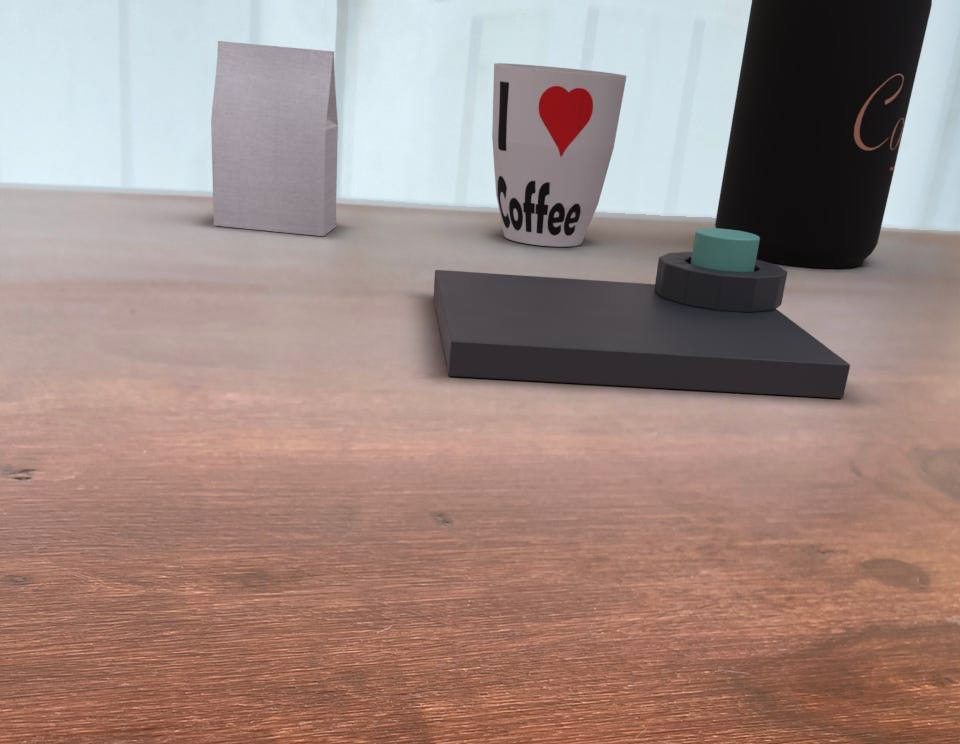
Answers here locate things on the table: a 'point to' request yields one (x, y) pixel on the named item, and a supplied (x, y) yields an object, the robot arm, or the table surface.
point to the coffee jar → (819, 126)
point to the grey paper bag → (274, 139)
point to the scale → (635, 331)
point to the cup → (552, 149)
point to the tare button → (725, 249)
